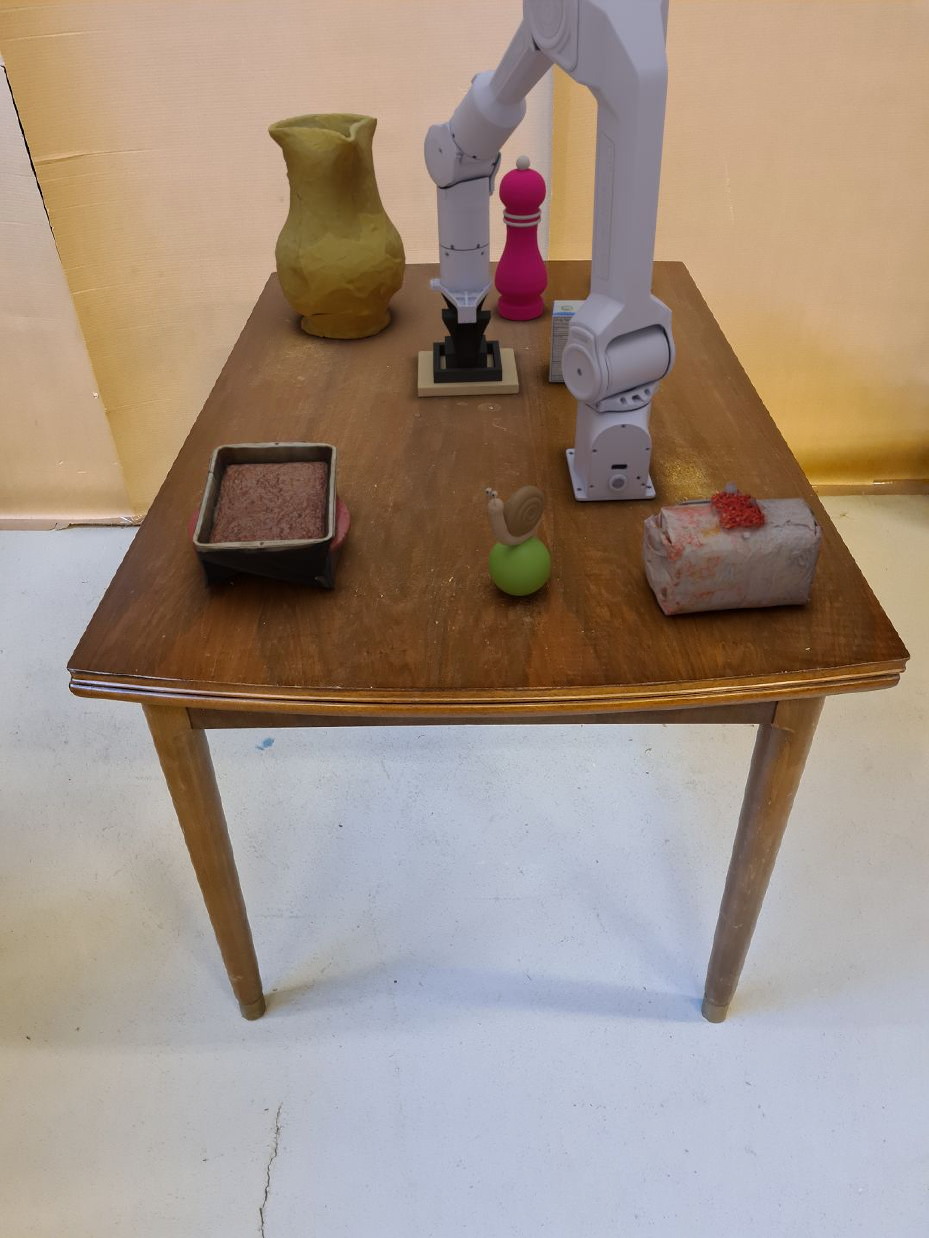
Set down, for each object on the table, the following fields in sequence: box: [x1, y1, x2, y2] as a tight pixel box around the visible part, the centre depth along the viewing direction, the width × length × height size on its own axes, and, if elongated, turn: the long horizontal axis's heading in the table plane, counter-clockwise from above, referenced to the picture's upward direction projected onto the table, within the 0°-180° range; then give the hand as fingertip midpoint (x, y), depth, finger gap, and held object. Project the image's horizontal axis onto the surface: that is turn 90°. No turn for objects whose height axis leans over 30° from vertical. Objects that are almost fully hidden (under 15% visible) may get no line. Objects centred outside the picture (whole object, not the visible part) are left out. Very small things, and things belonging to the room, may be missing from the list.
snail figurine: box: [485, 485, 552, 597], centre depth 76 cm, size 5×6×12 cm
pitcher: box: [267, 112, 407, 340], centre depth 118 cm, size 17×19×25 cm
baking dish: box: [188, 441, 352, 590], centre depth 83 cm, size 14×18×10 cm
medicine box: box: [548, 299, 586, 383], centre depth 108 cm, size 8×4×9 cm, turn 84°
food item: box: [641, 480, 824, 616], centre depth 76 cm, size 14×8×10 cm, turn 95°
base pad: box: [417, 339, 520, 398], centre depth 111 cm, size 10×12×3 cm
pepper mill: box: [494, 154, 549, 321], centre depth 120 cm, size 7×7×20 cm
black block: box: [444, 334, 487, 369], centre depth 110 cm, size 5×5×3 cm
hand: (466, 356), depth 110 cm, fingers closed on black block, 5 cm apart
